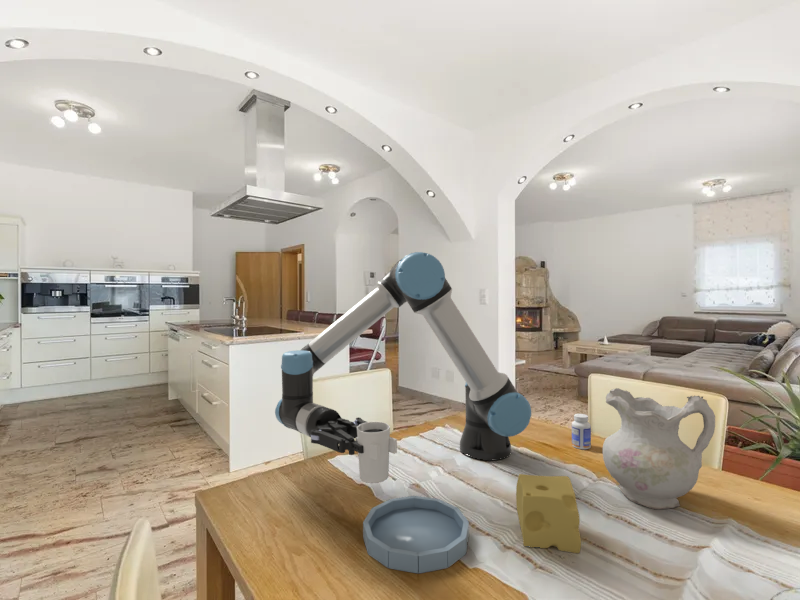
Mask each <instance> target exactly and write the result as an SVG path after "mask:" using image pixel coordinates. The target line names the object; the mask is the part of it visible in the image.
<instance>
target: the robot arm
mask: <svg viewBox="0 0 800 600" xmlns="http://www.w3.org/2000/svg"><path fill="white" fill-rule="evenodd" d="M452 291H453V288H452V286H451V284H450V283H449V282H448V280H447V278H446V273H445V268H444V267H443V265H442V263H441V262H440V260H439V259H438V258H437V257H436V256H434V255H432V254H430V253H427V252H423V251H415V252H411V253H409V254H407V255H404V256H403V258H401V259H399V260H398V261H397V262H396V263H395V264H394V265H393V267H392V268H391V269H390V270H389V271H388V272H387V273H386V274H385V275H384V276H383V277H382V278H381V279H379V281H377V284H376V287H375V288H374V289H373V290H372V291H370V292H369V293H368V294H367V295H366V296H364V297H363V298H362V299H361V300H359V301H358V302H357V303H356V304H354V305H353V306H352V307H351V308H350V309H348V310H347V311H346V312H345V313H344V314H342V315H341V316H340V317H339V318H338V319H336V320H335V321H333V322H332V324H330V325H329V326H327V328H325V329H324V330H323V331H322V332H321V333H319V334H318V335H317V336H316V337H314V338H313V339H312V340H311V341H309V343H308V344H306V345H304V347H302V348H301V349H300V350H297V349H296V350H289V351H285V352H283V354H282V355H281V365H280V369H281V385H282V386H281V387H282V388H281V389H282V390H281V391H282V394H281V399H280V400H278V402H277V404H276V406H275V410H274V413H275V418H276V420H277V421H278V422H279V423H280V424H281V425H283V426H284V427H286V428H288V429H290V430H294V431H296V432H298V433H300V434H303V435H305V436H306V437H309V438H310V443H311V444H316V445H320V446H323V447H325V448H328V449H329V450H332V451H334V452H338V453H340V454H344V453H346V451H348V455H349V456H354V455H355V453H357V454H358V453H364V448H363V445H360V444H359V443H358V439H357V426H358V425H360V424H362V423H367V422H368V421H366V420H364V419H362V418H361V417H356V418H355V419H354V421H350V420H349V419H345V418H342V417H341V415H340V413H339V411H337V410H334V409H333V408H330V407H327V406H324V405H321V404H318V403H315V402H314V390H313V389H314V387H313V386H314V383H313V382H314V375H315V373H316V372H317V371H319V370H320V369H321V368H322V367H324V366H325V365H326V364H327V363H328V362H329V361H331V360H332V359H333V358H334V357H335V356H336V355H337V354H339V353H340V352H341V351H342V350H344V349H345V348H346V347H348V345H350V344H351V343H352V342H353V341H355V340H356V339H357V338H359V336H361V335H362V334H363V333H364V332H366V331H367V330H368V329H370V328H371V327H372V326H374V324H375V323H377V322H378V321H380V320H381V318H382V317H384V316H386V314H387V313H389V312H390V311H391V310H393V309H394V308H397V309H399V308H400V307H402V306H403V305H404V304H406V303H407V304H408V306H409V307H410V308H411V309H412V311H413V313H414V314H417V315H422V317H424V319H425V320H426V323H427V325H429V328H430V329H431V330H432V332H433V333H434V335H435V336H436V338H437V339H438V341H439V343H440V344H441V346H442V347H443V349H444V350H445V352H446V353H447V355H448V357H449V358H450V359H451V361H452V363H453V364H454V366H455V367H456V369H457V371H458V372H459V373H460V375H461V377H462V378H463V379H464V381H465V384H464V389H465V391H464V392H465V425H464V428H463V431H462V435H461V437H460V440H459V451H460V452H461V453H462V454H463V453H465V454H468V455H470V456H472V457H473V458H472V459H475V458H477V459H476V460H480V459H483V461H493V460H492V459H500V458H504V457H507V456H508V457H510V456H509V455H511V454H512V444H511V441H510V437H515V436H517V435H519V434H521V433H522V432H524V431H525V430H526V429H527V427H528V426H529V424H530V421H531V418H532V407H531V404H530V402H529V400H528V399H527V398H526V397H525V396H524V395H523V394H521V392H519V391H518V390H517V388H516V386H514V384H513V382H512V381H511V380H510V378H509V377H508V375H507V373H504V372H499V371H498V370H497V368H496V366H495V365H494V364H493V362H492V360H491V359H490V357H489V356H488V354H487V353H486V351H485V349H484V348H483V346H482V345H481V343H480V342H479V340H478V339H477V337H476V335H475V334H474V332H473V330H472V329H471V328H470V326H469V325H468V323H467V321H466V319H465V318H464V316H463V315H462V313H461V312H460V310H459V309H458V306H456V304H455V302H454V301H453V299H452ZM389 453H391V454H393V455H395V454H397V453H398V439H397V438H394V437H393V436H390V438H389ZM510 453H511V454H510ZM508 457H507V458H508ZM370 458H373V459H375V460H380V445H378V444H376V443H374V444H370ZM504 459H505V458H504ZM500 460H501V459H500Z"/></svg>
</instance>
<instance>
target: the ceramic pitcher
mask: <svg viewBox="0 0 800 600" xmlns="http://www.w3.org/2000/svg"><path fill="white" fill-rule="evenodd" d="M686 399H687V402H686V403H685V405H684V406H683V407H678V406H675V405H663V404H661V403H659V402H658V401H655V400H654V399H653V398H651V397H644V396H643V397H642V396H641V397H635V396H633V394H632V393H631V392H630V391H628V390H624V389H621V388H617V387H616V388H613V389H611V390H609V392H608V393H607V394H606V396H605V403H606V404H607V405H609V406H610V407H613V408H614V409H615V410H616V411H617V412H618V414H619V417H620V419H621V423H620V424H621V425H620V428H619V429H618V430H617V431H616V432H614V433H612V434H610V435H608V436H607V437H606V438H605V440H604V441H603V445H602V458H603V463H604V466H605V468H606V470H607V471H608V473H609V474H610V476H611V477H612V478H613V479H614V480H615V481H616V482H617V483H618V484H617V488H618V487H619V488H620V489H619V488H618V489H619V490H620V492H621V493H622V494H623V495H624V496H625V497H626V498H627V499H628V500H629V501H631V502H632V503H636V504H637V505H640V506H644V507H647V508H649V509H652V510H662V509H663V510H665V509H674V508H677V507H680V506H681V504H680V502H679V500H678V498H679V497H680V498H681V497H683V496H685V495H686V494H688V493H689V492H690V491H692V489H693V488H694V486H695V485H696V483H697V481H698V479H699V472H700V469H701V468H702V466H703V465H702V464H703V462H702V459H703V453H704V451H705V450H706V449H707V448H708V446H709V444H710V442H711V439H712V438H713V437H714V434H715V430H716V429H715V428H716V414H715V412H714V410H713V409H712V407H710V405H709V403H708V401H707V399H704V396H700V395H689V396H686ZM698 413H699V414H700V415H701V416H702V419H703V420H702V421H703V428H702V431H701V432H700V434H699V436H698V438H697V440H696V443H695V445H694V447H693V448H690V447H689V446H688V445H687V444H685V443H684V442H683V441H682V440H681V438H680V436H679V429H680V423H681V421H682V419H684V418H687V417H688V416H691V415H693V414H698Z"/></svg>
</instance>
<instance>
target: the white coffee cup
mask: <svg viewBox="0 0 800 600" xmlns="http://www.w3.org/2000/svg"><path fill="white" fill-rule="evenodd" d="M366 422H367V423H362V424H360V425H358V426H357V439H358V443H359V444H360V445H363V448H364V453H358V452H357V455H358V469H359V480H360V481H362V482H363V483H367V484H379V483H380V484H381V483H383V482H386V481H387V480H388V478H389V475H390V474H389V470H390V467H389V466H390V465H389V464H390V452H389V438H390V437H391V436H390V433H391V432H390V431H391V427H390V424H388V423H387V422H384V421H369V422H368V421H366ZM374 443H376V444H378V445H380V460H375V459H373V458H370V444H374Z"/></svg>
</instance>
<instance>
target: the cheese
mask: <svg viewBox="0 0 800 600" xmlns="http://www.w3.org/2000/svg"><path fill="white" fill-rule="evenodd" d="M515 489H516V491H515V492H516V493H515V501H516V502H515V503H516V505H515V506H516V513H517V517H518V523H519V526H520V530H521V536H522V537H521V538H522V542H523V543H522V544H523V546H524V547H525V546H530V547H529V548H534V547H540V548H539V549H549V548H550V547H555V548H556V549H557V550H558V551H562V552H568V553H573V554H580V552H581V548H582V539H581V538H582V537H581V534H580V514H579V509H578V504H577V497H576V493H575V490H574V488H573V484H572V481H571V478H569V476H566V475H563V476H562V475H555V476H554V475H553V476H552V475H534V474H523V473H522V474H521V473H519V474H518V477H517V482H516V487H515Z"/></svg>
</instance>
